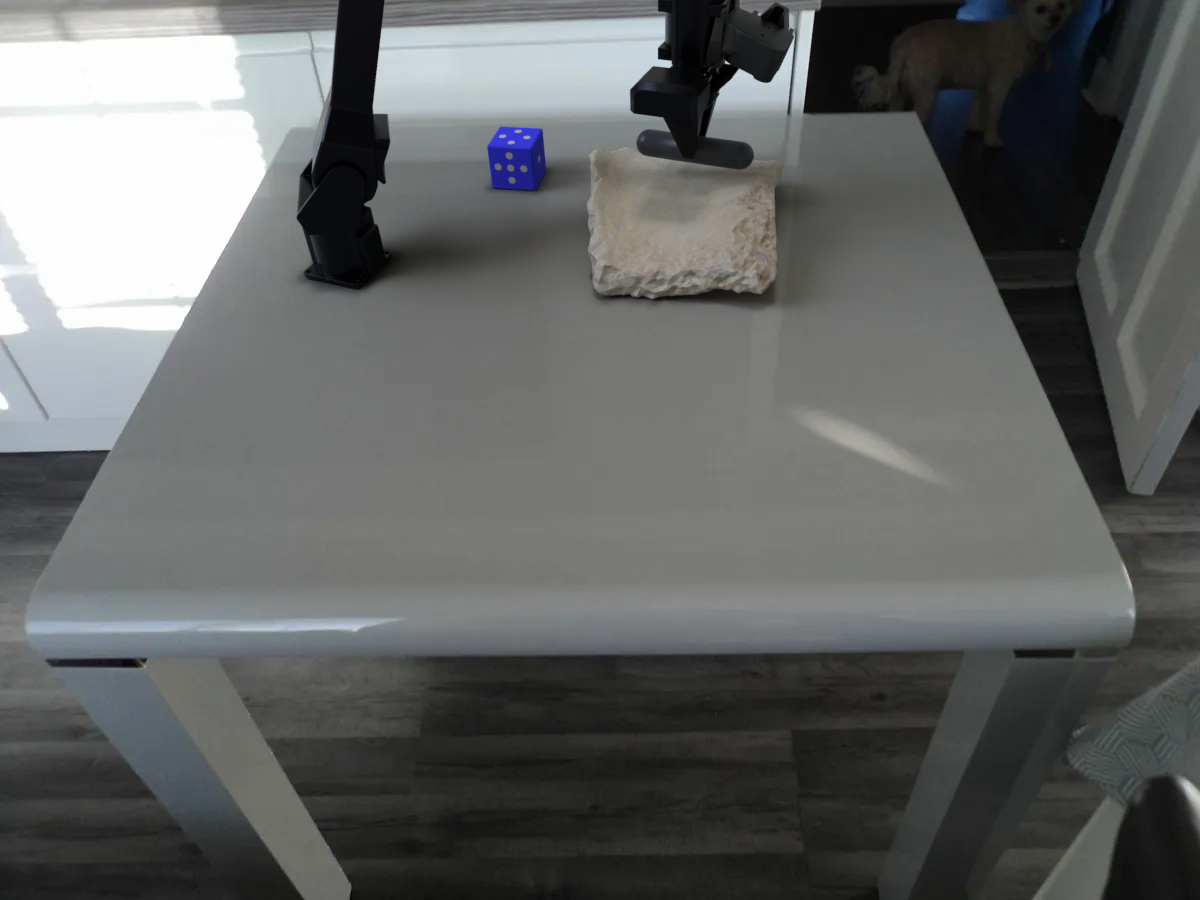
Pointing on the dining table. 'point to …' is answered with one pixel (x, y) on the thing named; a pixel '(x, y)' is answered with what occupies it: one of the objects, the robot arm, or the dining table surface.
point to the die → (517, 158)
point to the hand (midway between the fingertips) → (693, 151)
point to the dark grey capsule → (706, 150)
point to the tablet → (680, 225)
